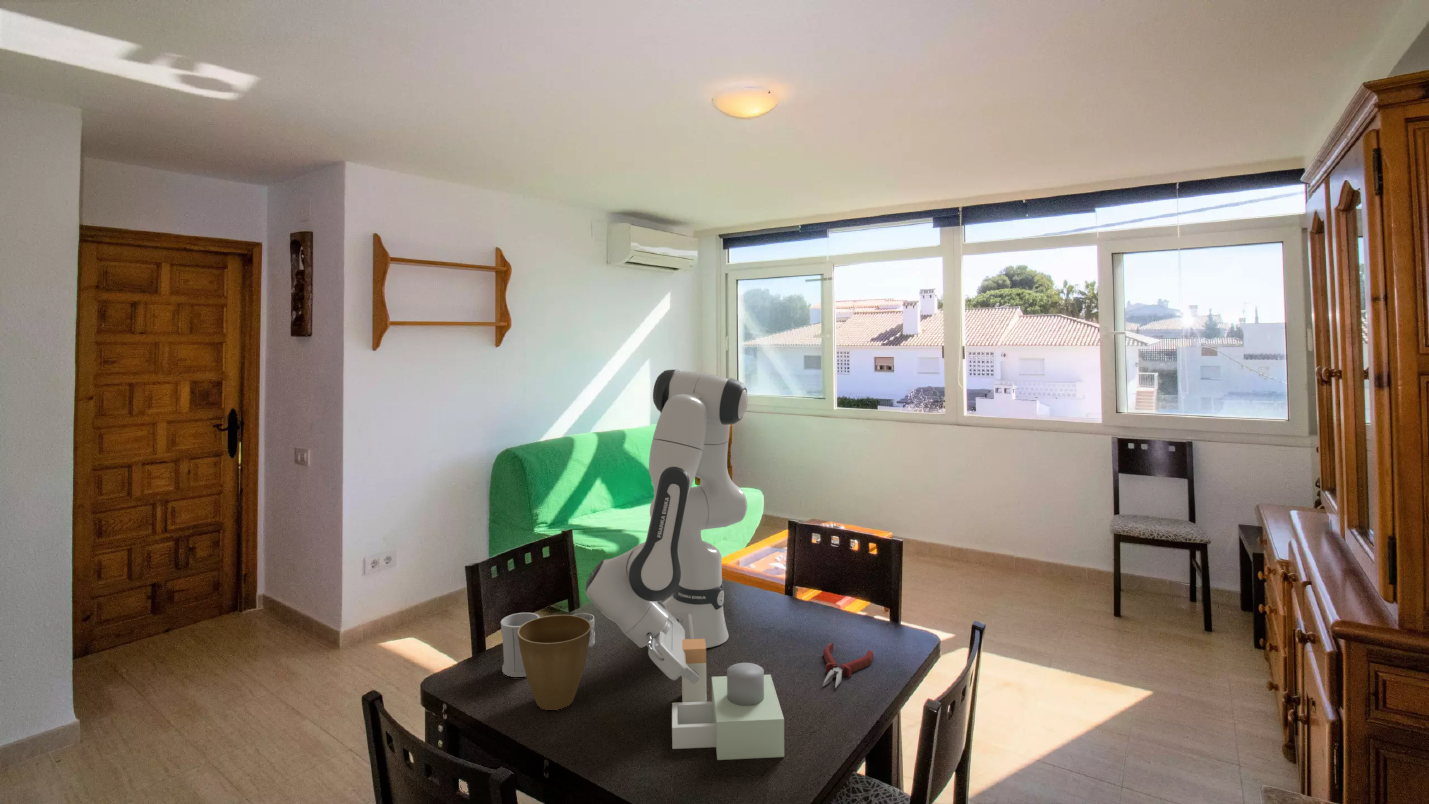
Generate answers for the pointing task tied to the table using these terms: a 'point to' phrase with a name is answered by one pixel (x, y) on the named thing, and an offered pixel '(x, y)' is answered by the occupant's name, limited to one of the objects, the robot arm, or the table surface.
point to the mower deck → (733, 717)
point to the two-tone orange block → (697, 662)
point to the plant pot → (554, 657)
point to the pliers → (843, 665)
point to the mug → (592, 633)
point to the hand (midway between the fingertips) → (696, 669)
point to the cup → (513, 643)
